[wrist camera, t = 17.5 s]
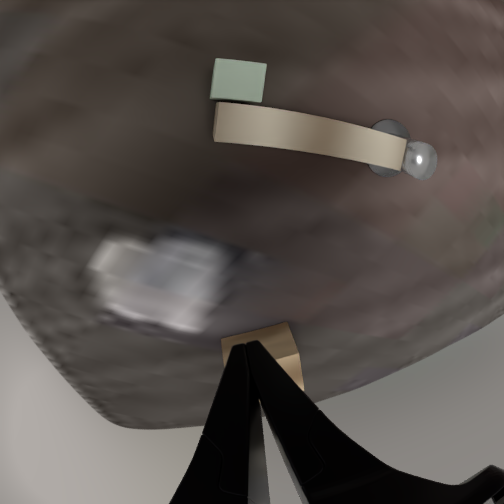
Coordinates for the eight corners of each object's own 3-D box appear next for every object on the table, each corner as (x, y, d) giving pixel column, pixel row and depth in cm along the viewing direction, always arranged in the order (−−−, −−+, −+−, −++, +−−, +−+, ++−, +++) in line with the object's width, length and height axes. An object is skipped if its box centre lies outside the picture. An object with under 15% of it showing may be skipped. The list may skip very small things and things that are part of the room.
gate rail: (377, 131, 18) (407, 139, 15) (371, 158, 19) (400, 170, 16) (216, 102, 16) (219, 101, 12) (212, 134, 16) (214, 141, 13)
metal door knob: (369, 112, 17) (405, 119, 14) (415, 127, 18) (452, 138, 14) (358, 171, 19) (390, 189, 16) (403, 180, 20) (437, 199, 17)
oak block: (220, 337, 25) (224, 372, 22) (286, 320, 25) (298, 353, 22) (237, 374, 28) (242, 406, 25) (293, 360, 28) (304, 390, 25)
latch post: (213, 68, 15) (215, 58, 11) (253, 72, 15) (266, 63, 12) (209, 99, 16) (211, 97, 12) (249, 102, 16) (261, 102, 13)
